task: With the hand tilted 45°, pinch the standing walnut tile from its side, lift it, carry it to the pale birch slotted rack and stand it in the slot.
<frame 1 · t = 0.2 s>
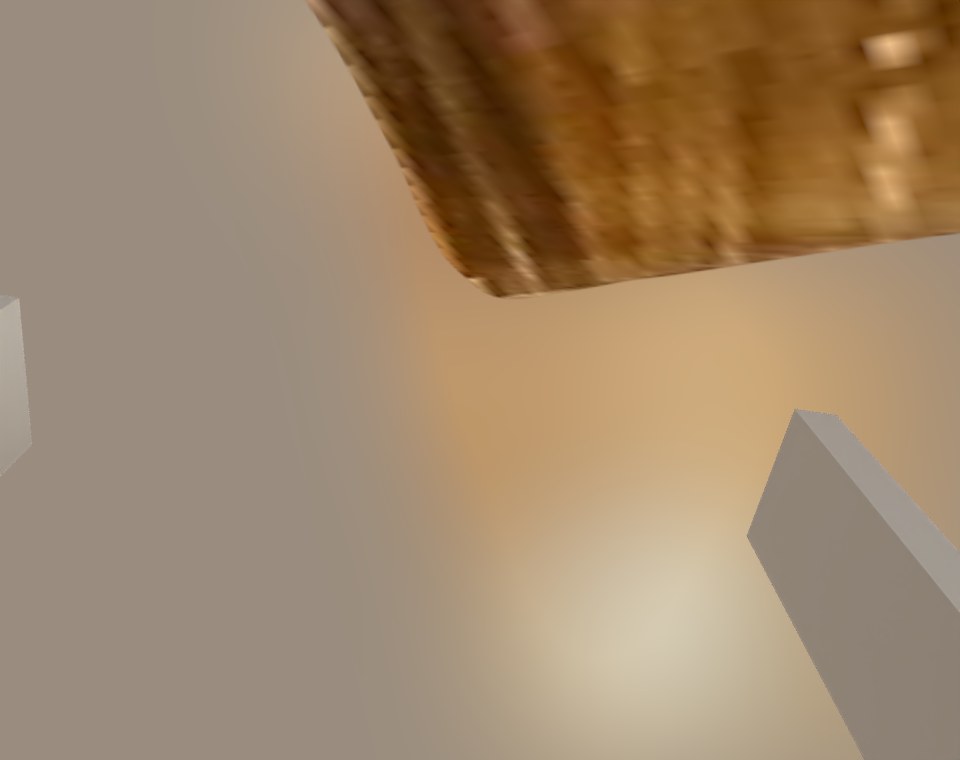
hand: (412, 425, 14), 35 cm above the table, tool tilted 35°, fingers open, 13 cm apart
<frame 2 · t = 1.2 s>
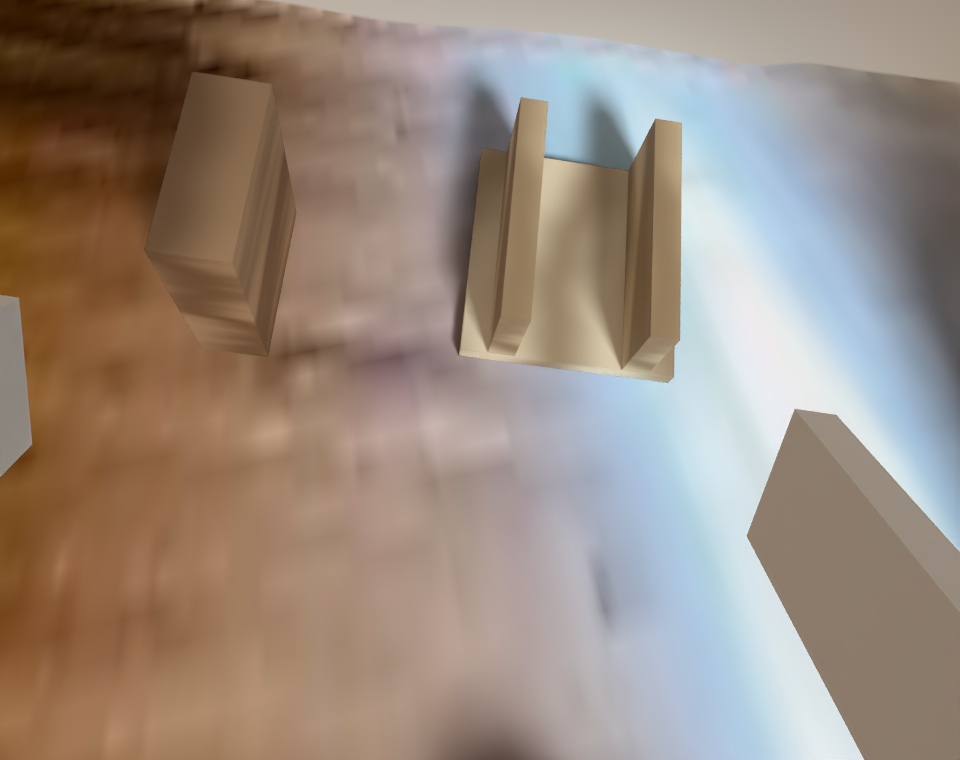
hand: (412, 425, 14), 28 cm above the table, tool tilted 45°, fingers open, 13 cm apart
rack: (570, 266, 47), on the table
tile: (250, 277, 44), on the table
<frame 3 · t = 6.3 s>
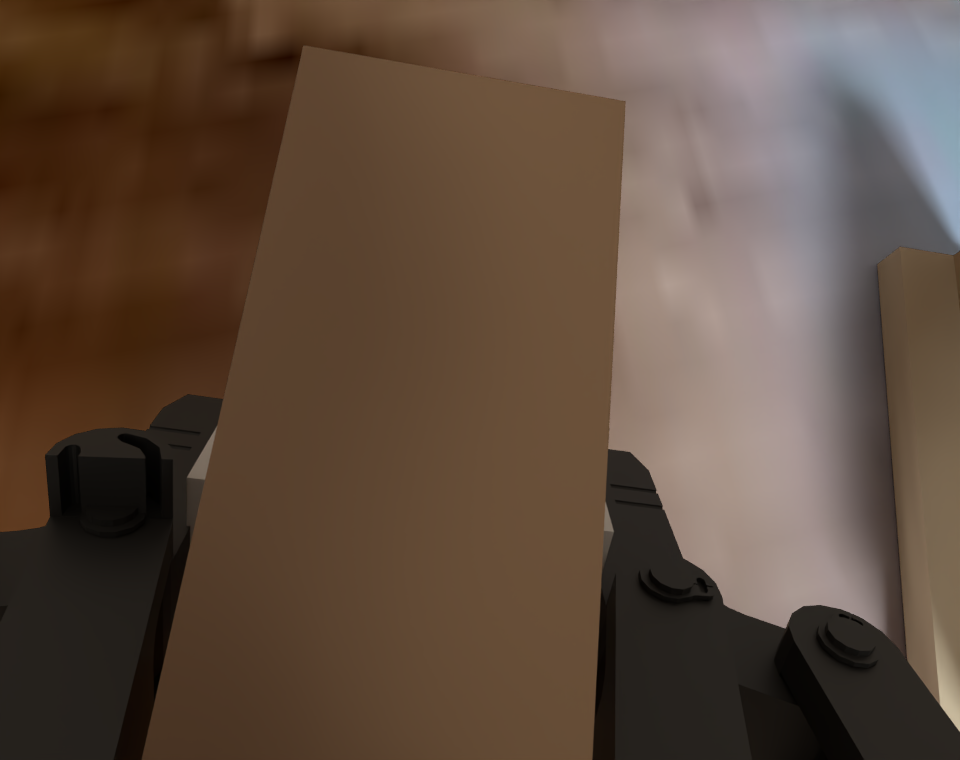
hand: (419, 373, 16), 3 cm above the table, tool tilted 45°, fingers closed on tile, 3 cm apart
tile: (389, 585, 17), on the table, touching gripper
when the fingers open (7 cm above the table, at t = 12.6 s): tile stays where it is, resting on rack.
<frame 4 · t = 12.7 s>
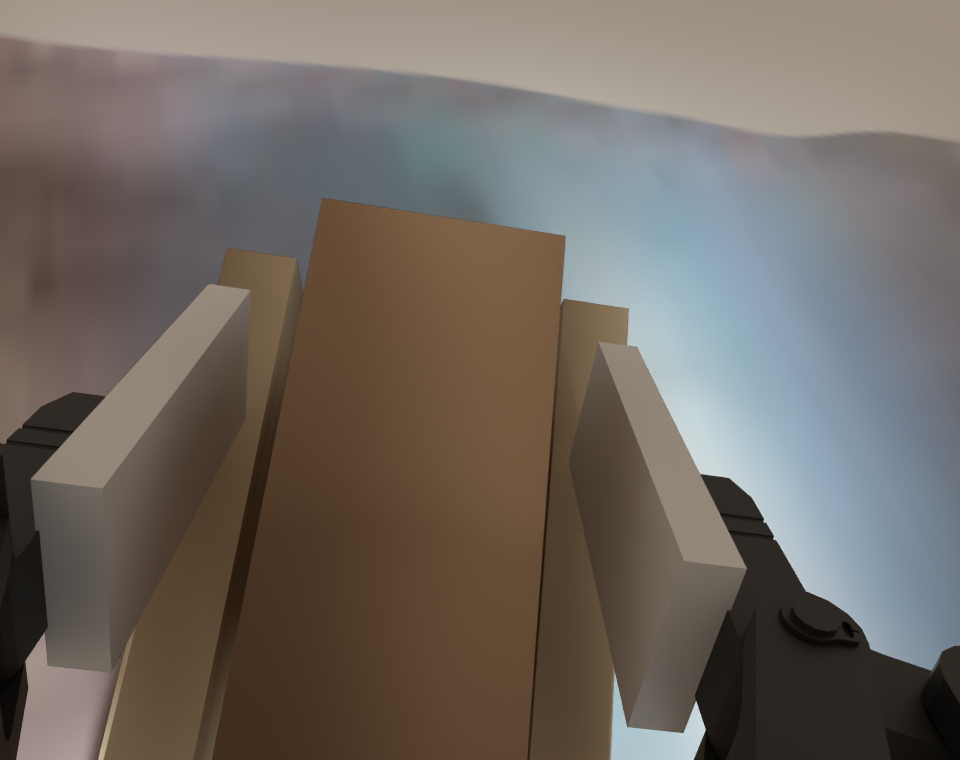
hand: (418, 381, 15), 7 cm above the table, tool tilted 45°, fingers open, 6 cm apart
rack: (386, 597, 21), on the table
tile: (387, 595, 20), point 1 cm above the table, touching rack
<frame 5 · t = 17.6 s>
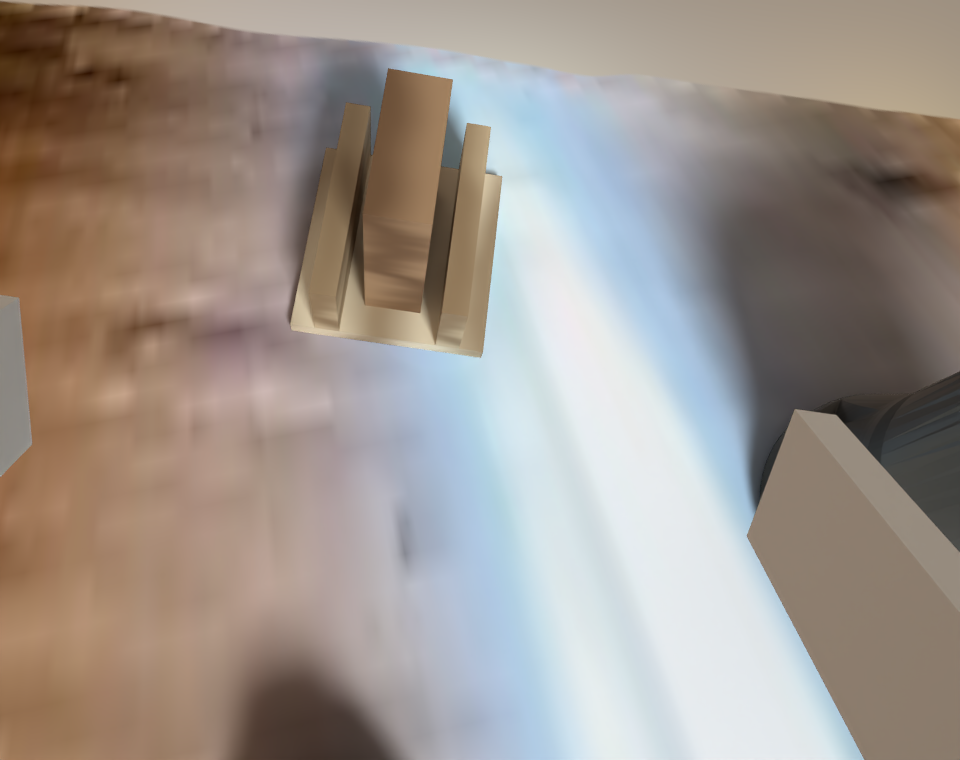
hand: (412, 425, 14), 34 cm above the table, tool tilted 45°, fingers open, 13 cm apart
rack: (401, 253, 52), on the table
tile: (402, 246, 51), point 1 cm above the table, touching rack
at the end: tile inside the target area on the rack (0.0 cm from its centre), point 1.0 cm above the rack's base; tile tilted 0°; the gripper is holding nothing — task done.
